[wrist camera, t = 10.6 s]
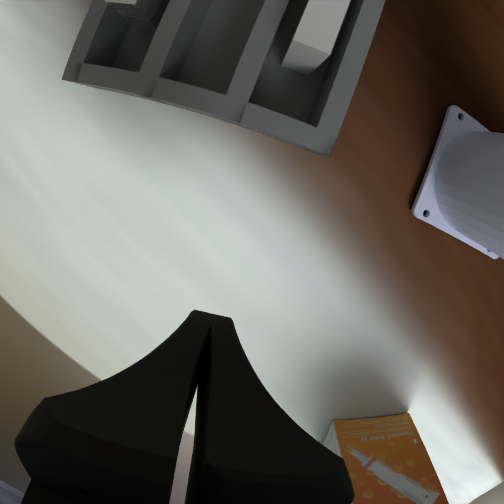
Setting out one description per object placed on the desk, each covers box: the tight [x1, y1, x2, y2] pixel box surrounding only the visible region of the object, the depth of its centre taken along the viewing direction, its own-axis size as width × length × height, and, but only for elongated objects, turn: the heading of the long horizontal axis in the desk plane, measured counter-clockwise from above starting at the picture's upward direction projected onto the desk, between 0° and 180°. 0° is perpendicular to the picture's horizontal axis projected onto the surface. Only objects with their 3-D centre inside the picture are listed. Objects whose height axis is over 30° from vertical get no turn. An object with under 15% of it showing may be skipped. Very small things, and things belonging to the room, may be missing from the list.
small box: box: [323, 413, 449, 504], centre depth 20 cm, size 8×6×13 cm
